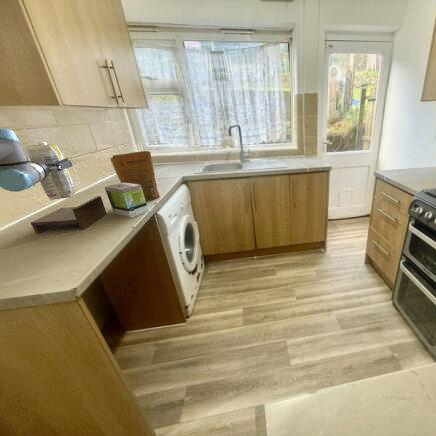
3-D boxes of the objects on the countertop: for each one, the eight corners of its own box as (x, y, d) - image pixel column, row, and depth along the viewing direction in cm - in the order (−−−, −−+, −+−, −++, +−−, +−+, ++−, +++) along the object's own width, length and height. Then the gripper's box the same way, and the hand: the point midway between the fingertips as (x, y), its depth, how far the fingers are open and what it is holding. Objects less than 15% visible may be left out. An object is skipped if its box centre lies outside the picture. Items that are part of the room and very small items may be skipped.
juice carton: (78, 193, 116) (57, 140, 106) (73, 197, 109) (50, 142, 100) (53, 196, 112) (29, 142, 103) (46, 201, 106) (20, 144, 96)
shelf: (35, 233, 107) (24, 212, 103) (65, 217, 123) (57, 198, 119) (84, 229, 109) (75, 209, 105) (107, 214, 125) (100, 195, 121)
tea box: (149, 211, 127) (141, 183, 121) (130, 218, 119) (120, 189, 113) (132, 207, 134) (123, 181, 128) (113, 214, 126) (102, 186, 120)
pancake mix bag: (163, 199, 144) (149, 151, 133) (126, 205, 137) (108, 155, 126) (163, 196, 150) (150, 149, 138) (127, 202, 143) (110, 153, 131)
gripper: (-5, 186, 87) (23, 174, 106) (73, 178, 96) (86, 168, 115) (-16, 165, 84) (15, 156, 103) (65, 159, 93) (80, 151, 112)
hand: (53, 162), depth 109 cm, fingers closed on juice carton, 9 cm apart
